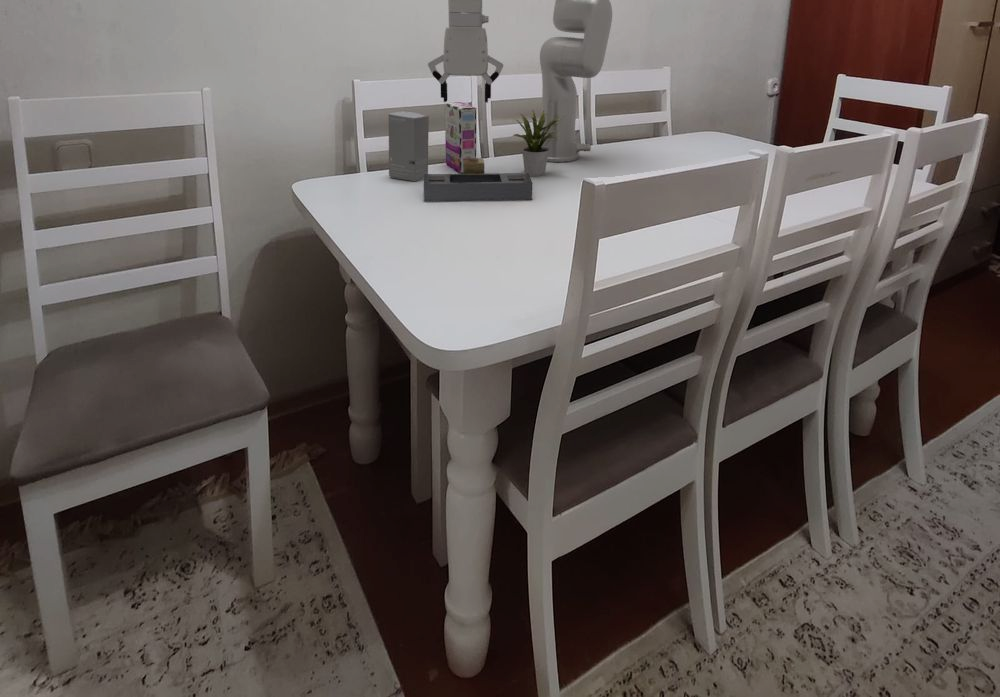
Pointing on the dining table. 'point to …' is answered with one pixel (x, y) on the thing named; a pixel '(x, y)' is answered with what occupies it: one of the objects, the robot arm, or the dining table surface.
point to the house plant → (536, 145)
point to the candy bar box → (459, 134)
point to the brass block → (473, 166)
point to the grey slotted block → (477, 187)
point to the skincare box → (408, 145)
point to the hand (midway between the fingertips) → (466, 101)
